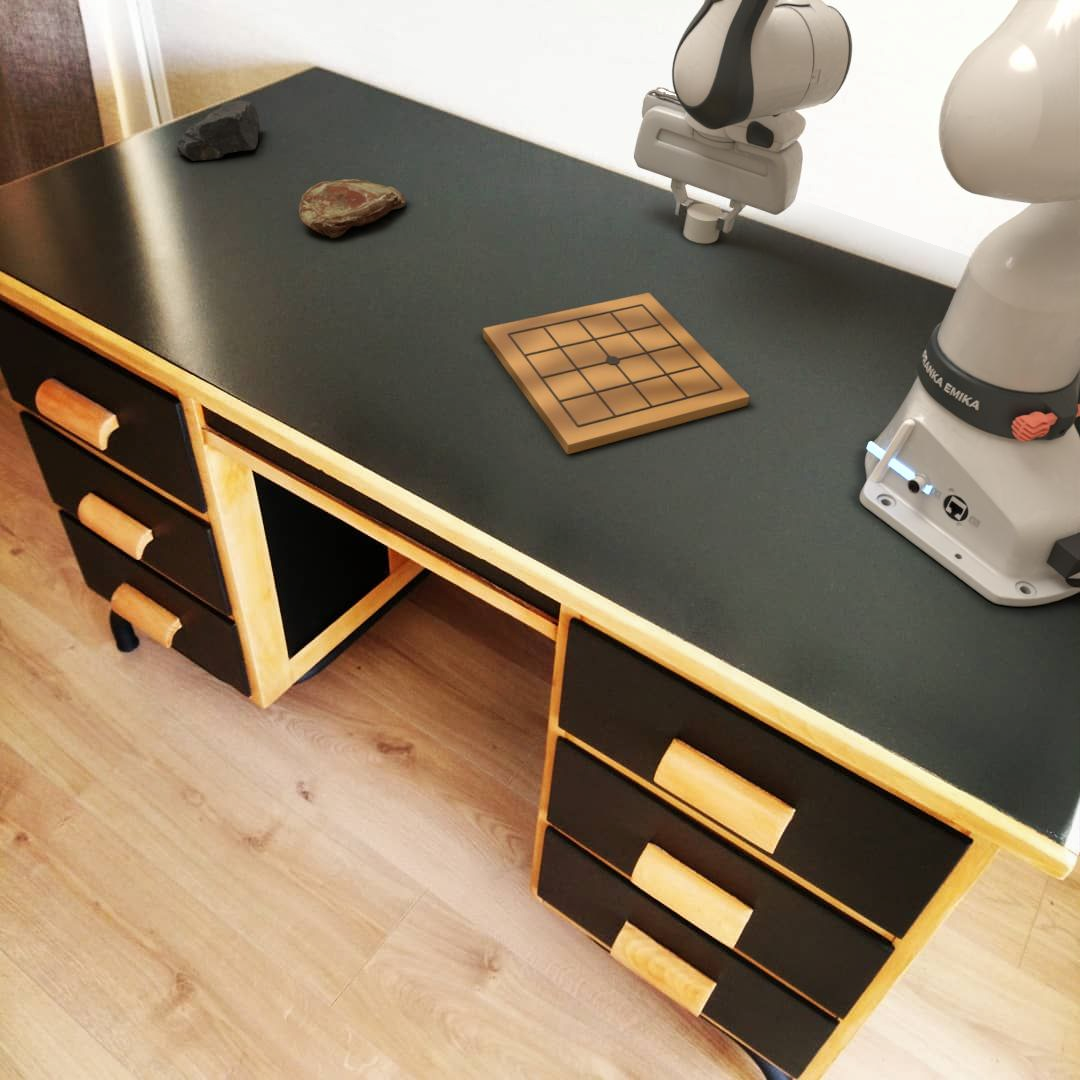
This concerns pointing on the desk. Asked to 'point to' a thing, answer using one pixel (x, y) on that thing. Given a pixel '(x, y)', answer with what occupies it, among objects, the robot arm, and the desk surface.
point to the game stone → (702, 223)
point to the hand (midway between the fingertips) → (703, 222)
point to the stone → (346, 205)
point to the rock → (222, 132)
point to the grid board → (612, 371)
